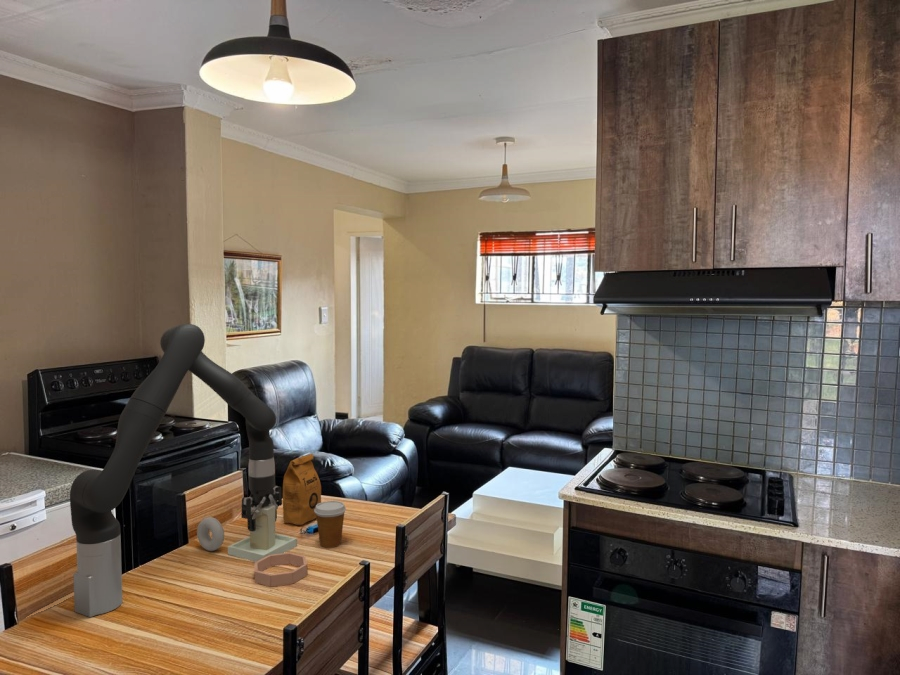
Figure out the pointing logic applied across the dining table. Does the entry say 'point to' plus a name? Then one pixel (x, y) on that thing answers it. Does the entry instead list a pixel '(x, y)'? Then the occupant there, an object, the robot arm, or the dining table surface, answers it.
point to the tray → (255, 554)
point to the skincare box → (264, 528)
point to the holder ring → (280, 578)
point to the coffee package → (300, 491)
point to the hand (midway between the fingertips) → (262, 526)
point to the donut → (204, 534)
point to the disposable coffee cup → (330, 522)
